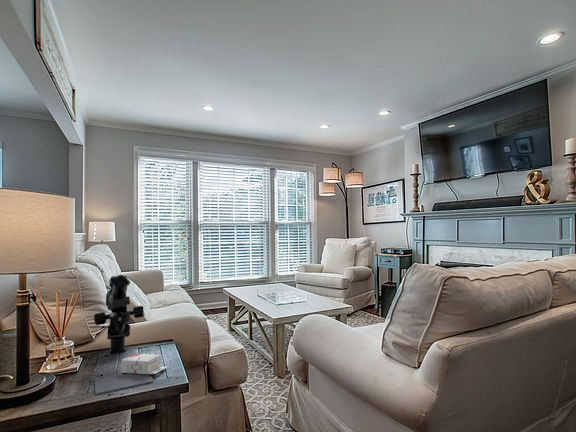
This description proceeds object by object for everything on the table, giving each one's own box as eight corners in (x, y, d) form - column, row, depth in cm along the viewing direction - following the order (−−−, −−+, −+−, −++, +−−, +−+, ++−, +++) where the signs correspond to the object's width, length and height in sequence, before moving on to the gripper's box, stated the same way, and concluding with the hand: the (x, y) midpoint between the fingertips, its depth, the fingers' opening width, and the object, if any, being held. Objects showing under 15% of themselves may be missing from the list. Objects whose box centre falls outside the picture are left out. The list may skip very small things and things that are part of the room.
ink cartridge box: (136, 352, 134) (168, 354, 131) (135, 365, 134) (168, 367, 130) (120, 359, 126) (155, 361, 123) (120, 373, 125) (154, 375, 122)
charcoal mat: (95, 381, 119) (95, 380, 119) (148, 370, 128) (148, 369, 128) (95, 395, 110) (95, 393, 110) (153, 382, 119) (153, 380, 119)
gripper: (92, 294, 137) (91, 329, 127) (141, 287, 145) (144, 320, 135) (95, 308, 144) (95, 342, 135) (142, 300, 152) (145, 332, 143)
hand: (120, 333), depth 137 cm, fingers closed
